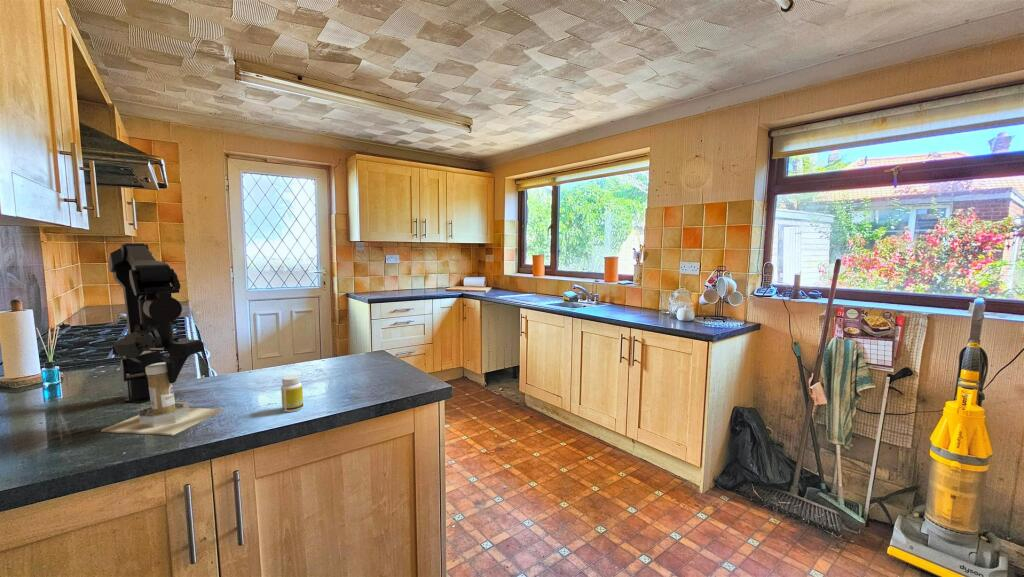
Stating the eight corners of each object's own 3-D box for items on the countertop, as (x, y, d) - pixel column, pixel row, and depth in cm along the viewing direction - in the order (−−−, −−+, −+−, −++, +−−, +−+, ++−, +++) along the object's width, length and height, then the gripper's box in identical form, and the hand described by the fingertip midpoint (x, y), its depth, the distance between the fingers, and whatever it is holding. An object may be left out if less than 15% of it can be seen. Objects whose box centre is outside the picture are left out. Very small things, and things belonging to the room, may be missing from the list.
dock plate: (101, 431, 95) (101, 430, 95) (159, 408, 109) (159, 406, 109) (172, 435, 93) (172, 433, 93) (223, 410, 107) (223, 409, 107)
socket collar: (129, 426, 97) (128, 415, 97) (166, 411, 106) (165, 401, 106) (164, 427, 96) (164, 417, 96) (198, 412, 105) (198, 402, 105)
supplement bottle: (307, 406, 109) (305, 375, 108) (292, 413, 105) (290, 380, 104) (293, 404, 111) (291, 373, 110) (278, 411, 106) (275, 378, 105)
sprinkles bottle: (176, 419, 100) (168, 364, 99) (151, 424, 98) (143, 368, 96) (178, 413, 104) (171, 360, 102) (154, 418, 102) (146, 364, 100)
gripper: (82, 323, 92) (90, 393, 93) (159, 324, 89) (165, 396, 91) (134, 315, 103) (140, 377, 104) (203, 316, 100) (208, 379, 102)
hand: (162, 382), depth 100 cm, fingers open, 5 cm apart
